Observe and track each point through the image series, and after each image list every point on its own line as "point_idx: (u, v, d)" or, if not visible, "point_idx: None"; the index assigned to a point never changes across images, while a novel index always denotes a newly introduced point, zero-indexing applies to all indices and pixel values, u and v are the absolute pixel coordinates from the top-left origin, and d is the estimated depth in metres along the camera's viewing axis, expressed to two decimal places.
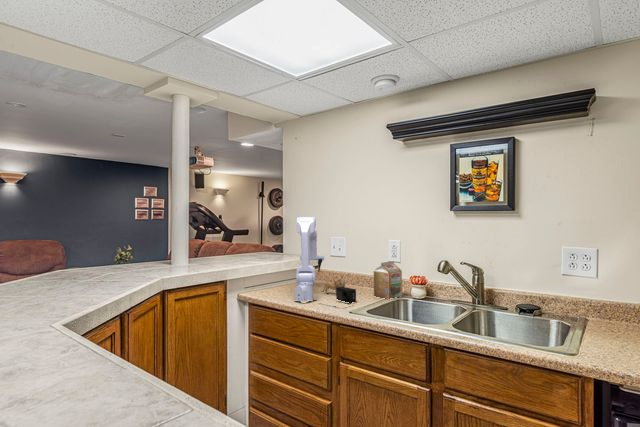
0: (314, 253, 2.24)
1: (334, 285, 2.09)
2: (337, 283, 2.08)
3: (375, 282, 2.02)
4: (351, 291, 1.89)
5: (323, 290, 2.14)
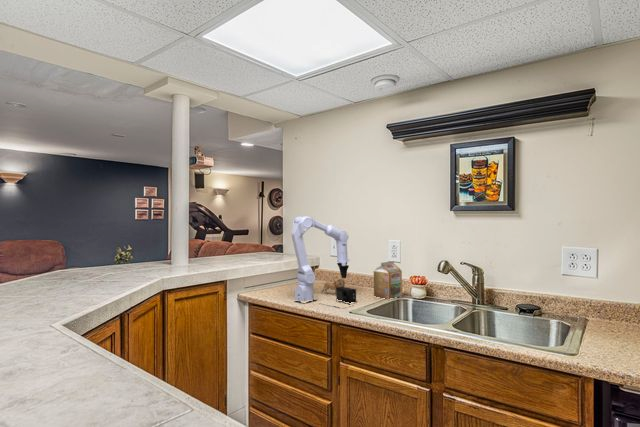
0: (338, 256, 2.07)
1: (334, 285, 2.09)
2: (337, 283, 2.08)
3: (375, 282, 2.02)
4: (351, 291, 1.89)
5: (323, 290, 2.14)
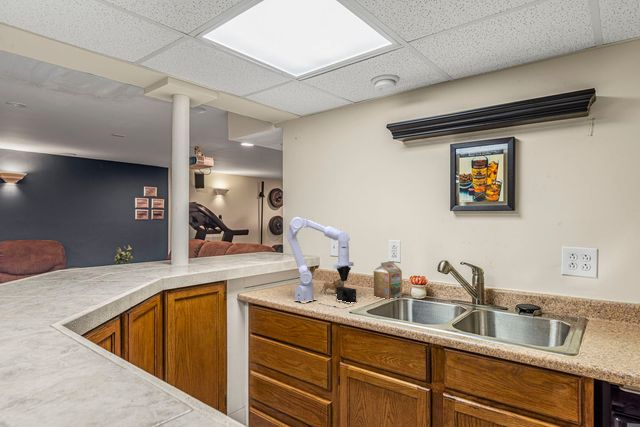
0: (338, 258, 1.98)
1: (333, 285, 2.09)
2: (336, 283, 2.08)
3: (375, 282, 2.02)
4: (351, 291, 1.89)
5: (322, 290, 2.15)
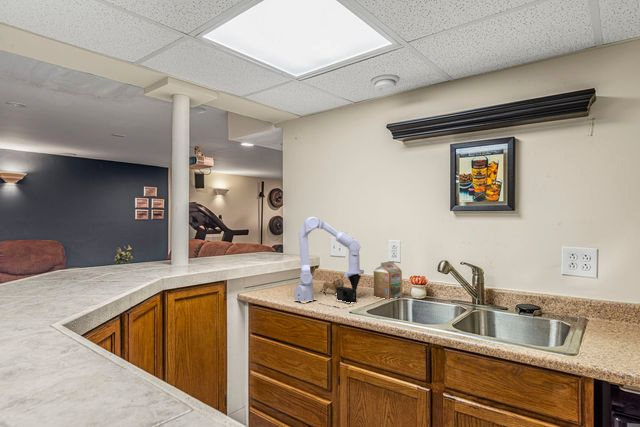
0: None
1: (333, 285, 2.10)
2: (336, 283, 2.09)
3: (375, 282, 2.02)
4: (351, 291, 1.89)
5: (322, 290, 2.15)
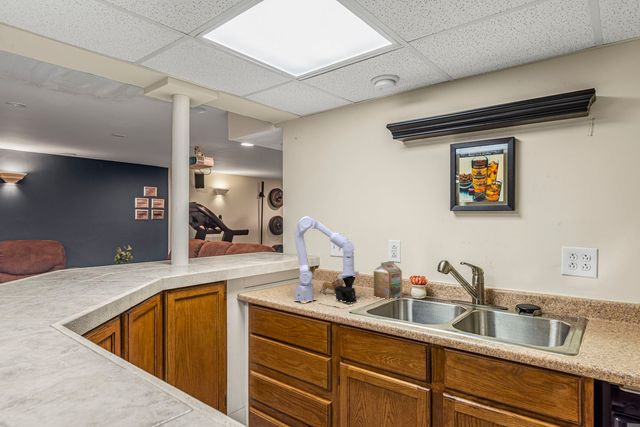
0: (343, 268, 1.96)
1: (332, 285, 2.10)
2: (335, 283, 2.09)
3: (375, 282, 2.02)
4: (350, 291, 1.89)
5: (321, 290, 2.15)
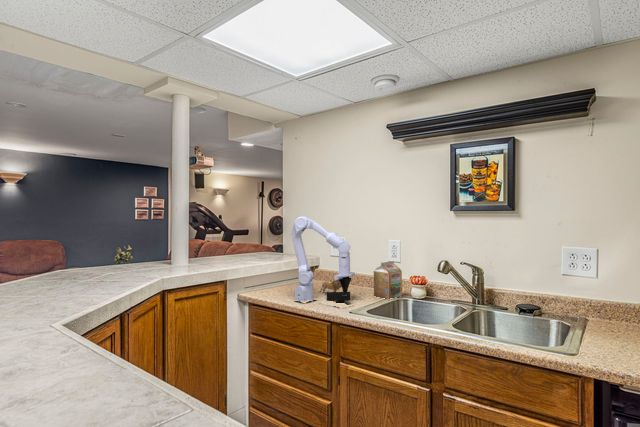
0: (339, 268, 1.93)
1: (332, 285, 2.10)
2: (335, 283, 2.09)
3: (375, 282, 2.02)
4: (341, 298, 1.85)
5: (321, 290, 2.15)
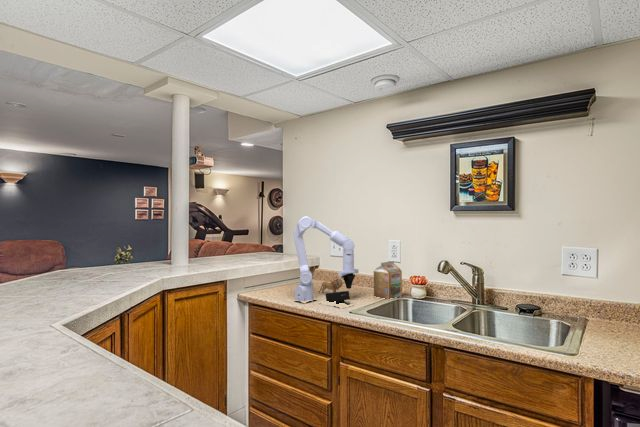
0: (343, 265, 1.97)
1: (331, 285, 2.10)
2: (334, 283, 2.09)
3: (375, 282, 2.02)
4: (340, 298, 1.85)
5: (320, 290, 2.15)
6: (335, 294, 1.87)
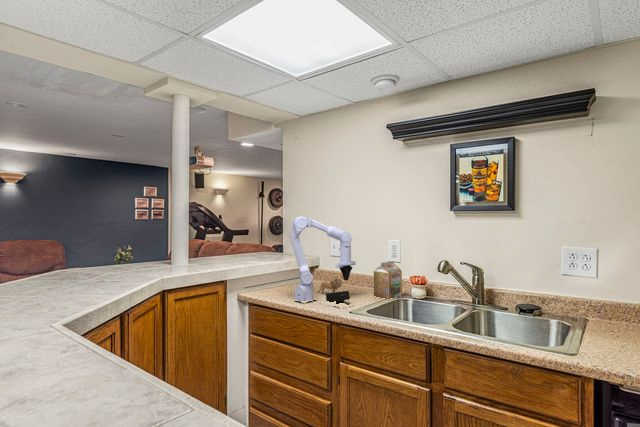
0: (340, 257, 2.01)
1: (330, 285, 2.10)
2: (333, 283, 2.09)
3: (375, 282, 2.02)
4: (340, 298, 1.85)
5: (319, 290, 2.15)
6: (335, 294, 1.87)
